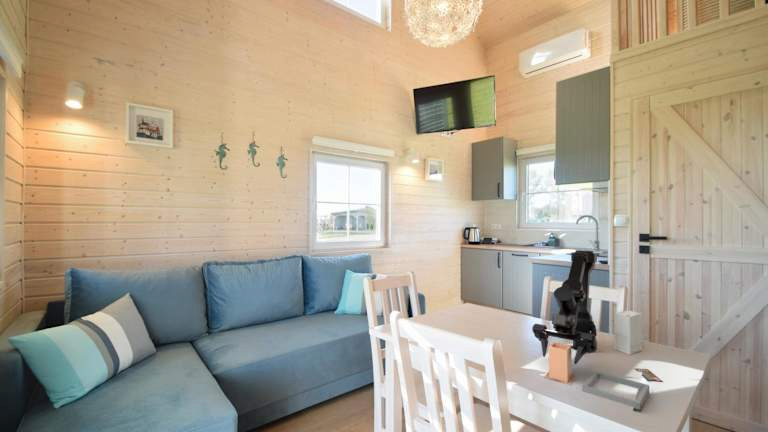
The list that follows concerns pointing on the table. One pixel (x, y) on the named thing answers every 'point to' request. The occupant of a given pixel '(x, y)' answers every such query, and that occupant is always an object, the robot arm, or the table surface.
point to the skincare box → (628, 331)
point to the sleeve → (560, 361)
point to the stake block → (562, 381)
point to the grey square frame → (637, 404)
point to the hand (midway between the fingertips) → (559, 359)
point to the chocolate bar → (648, 375)
